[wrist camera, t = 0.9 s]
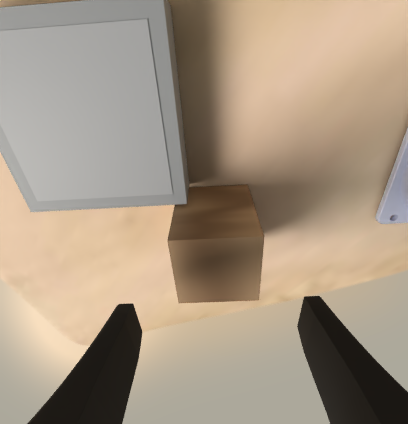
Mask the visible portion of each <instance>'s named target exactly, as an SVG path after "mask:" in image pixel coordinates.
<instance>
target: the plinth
mask: <svg viewBox="0 0 408 424" xmlns="http://www.w3.org/2000/svg"><path fill="white" fill-rule="evenodd" d="M0 152H1V154H2V156H3V158H4V160H5V162H6V164H7V166H8V168H9V170H10V172H11V174H12V176H13V178H14V180H15V182H16V184H17V185H18V187H19V189H20V191H21V193H22V195H23V197H24V199H25V201H26V203H27V205H28V207H29V209H30V211H31V212H43V211H62V210H81V209H101V208H120V207H139V206H158V205H177V204H187V200H188V192H189V176H188V166H187V157H186V147H185V138H184V128H183V118H182V109H181V99H180V90H179V80H178V70H177V61H176V51H175V42H174V32H173V22H172V13H171V5H170V4H169V2H168V1H167V0H83V1H71V2H59V3H48V4H36V5H24V6H12V7H0Z"/></svg>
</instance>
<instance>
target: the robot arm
mask: <svg viewBox="0 0 408 424" xmlns="http://www.w3.org/2000/svg"><path fill="white" fill-rule="evenodd" d="M392 215H393V216H392ZM391 216H392V217H391ZM390 217H391V218H390ZM375 218H376V220H377V221H378V222H379V223H381V224H392V223H408V128H407V130H406V133H405V136H404V139H403V142H402V144H401V147H400V150H399V153H398V155H397V158H396V161H395V164H394V166H393V169H392V172H391V175H390V177H389V180H388V183H387V186H386V188H385V191H384V194H383V197H382V199H381V202H380V205H379V208H378V211H377V213H376V217H375ZM297 327H298V331H299V334H300V339H301V343H302V346H303V350H304V353H305V356H306V359H307V362H308V364H309V367H310V370H311V372H312V375H313V378H314V380H315V383H316V385H317V388H318V391H319V394H320V396H321V399H322V401H323V404H324V407H325V410H326V412H327V415H328V418H329V421H330V424H408V392H407V391H406V390H405V389H404V388H403V387H402V386H401V385H400V384H399V383H398V382H397V381H396V380H394V378H393V377H392V376H391V375H390V374H389V373H388V372H387V371H386V370H385V369H384V368H383V367H382V366H381V365H380V364H379V363H378V362H377V361H376V360H375V359H374V358H373V357H372V356H371V355H370V354H369V353H368V351H367V350H366V349H365V348H364V347H363V346H362V345H361V344H360V343H359V342H358V341H357V339H356V338H355V337H354V336H353V335H352V334H351V333H350V332H349V331H348V329H347V328H346V327H345V326H344V325H343V324H342V322H341V321H340V320H339V319H338V318H337V316H336V315H335V314H334V313H333V312H332V311H331V309H330V308H329V307H328V306H327V305H326V303H325V302H324V301H323V300H322V298H321V297H320V296H308V297H304V300H303V304H302V308H301V313H300V318H299V322H298V326H297ZM141 338H142V329H141V326H140V323H139V320H138V317H137V314H136V311H135V308H134V305H133V304H119V305H117V307H116V308H115V310H114V311H113V313H112V314H111V316H110V317H109V319H108V321H107V322H106V324H105V325H104V327H103V328H102V329H101V331H100V332H99V334H98V335H97V337H96V338H95V340H94V341H93V342H92V344H91V345H90V347H89V348H88V350H87V351H86V352H85V354H84V355H83V357H82V358H81V359H80V361H79V362H78V363H77V364H76V366H75V367H74V368H73V370H72V371H71V373H70V374H69V375H68V376H67V378H66V379H65V380H64V381H63V383H62V384H61V385H60V386H59V388H58V389H57V390H56V391H55V392H54V394H53V395H52V396H51V398H50V399H49V400H48V401H47V402H46V403H45V404H44V405H43V407H42V408H41V409H40V410H39V411H38V412H37V414H36V415H35V416H34V417H33V418H32V419H31V420H30V421H29V423H28V424H122V422H123V418H124V414H125V410H126V406H127V402H128V398H129V394H130V390H131V386H132V382H133V379H134V375H135V370H136V366H137V362H138V358H139V352H140V346H141Z"/></svg>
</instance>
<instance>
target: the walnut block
mask: <svg viewBox="0 0 408 424" xmlns="http://www.w3.org/2000/svg"><path fill="white" fill-rule="evenodd" d="M263 245H264V234H263V231H262V228H261V225H260V222H259V219H258V216H257V212H256V209H255V206H254V203H253V200H252V197H251V194H250V191H249V188H248V185H228V186H210V187H192V188H189V192H188V200H187V204H177V205H175V207H174V212H173V217H172V222H171V226H170V231H169V236H168V246H169V252H170V257H171V263H172V268H173V274H174V280H175V285H176V291H177V296H178V302H179V303H198V302H226V301H253V300H259V294H260V281H261V269H262V257H263Z"/></svg>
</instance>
